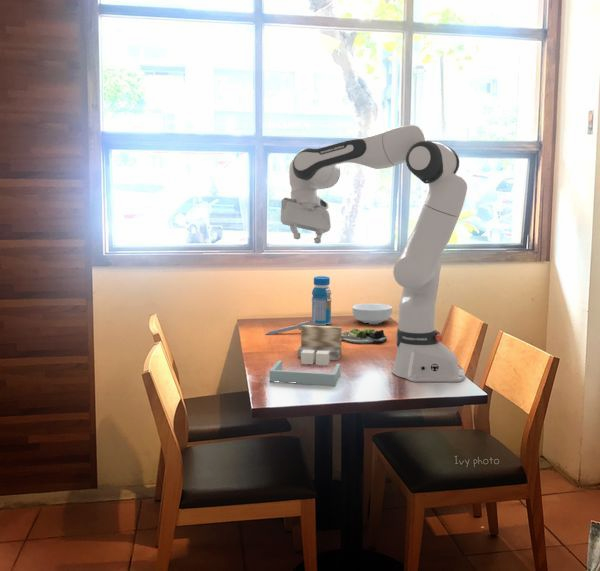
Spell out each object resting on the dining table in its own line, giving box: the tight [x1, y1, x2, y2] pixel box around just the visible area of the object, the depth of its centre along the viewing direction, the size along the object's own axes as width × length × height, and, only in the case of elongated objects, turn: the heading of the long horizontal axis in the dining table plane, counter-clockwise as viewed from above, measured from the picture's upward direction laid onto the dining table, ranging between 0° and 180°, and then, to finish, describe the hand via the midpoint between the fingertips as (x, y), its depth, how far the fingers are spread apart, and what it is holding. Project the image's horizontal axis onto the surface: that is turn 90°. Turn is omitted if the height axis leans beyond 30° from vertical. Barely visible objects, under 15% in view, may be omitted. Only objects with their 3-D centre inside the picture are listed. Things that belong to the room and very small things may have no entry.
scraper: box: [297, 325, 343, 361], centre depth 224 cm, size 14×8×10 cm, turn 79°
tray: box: [269, 359, 341, 387], centre depth 199 cm, size 20×12×4 cm, turn 79°
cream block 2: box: [315, 350, 331, 366], centre depth 215 cm, size 4×4×4 cm
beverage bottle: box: [311, 275, 332, 326], centre depth 274 cm, size 8×8×20 cm
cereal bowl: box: [351, 302, 393, 325], centre depth 278 cm, size 17×17×7 cm
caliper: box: [265, 317, 317, 335], centre depth 258 cm, size 20×1×6 cm, turn 99°
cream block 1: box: [300, 350, 316, 365], centre depth 216 cm, size 4×4×4 cm
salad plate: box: [341, 328, 387, 344], centre depth 249 cm, size 19×18×5 cm
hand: (307, 240), depth 216 cm, fingers open, 8 cm apart
